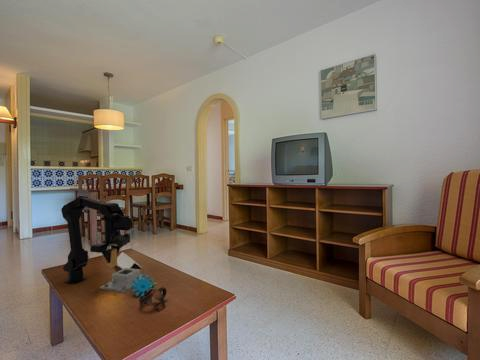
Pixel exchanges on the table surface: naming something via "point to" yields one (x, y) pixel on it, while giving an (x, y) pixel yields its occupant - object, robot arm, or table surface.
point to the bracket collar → (123, 280)
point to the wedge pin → (113, 258)
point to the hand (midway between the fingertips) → (111, 261)
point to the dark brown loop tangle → (156, 295)
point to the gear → (142, 285)
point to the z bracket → (125, 261)
